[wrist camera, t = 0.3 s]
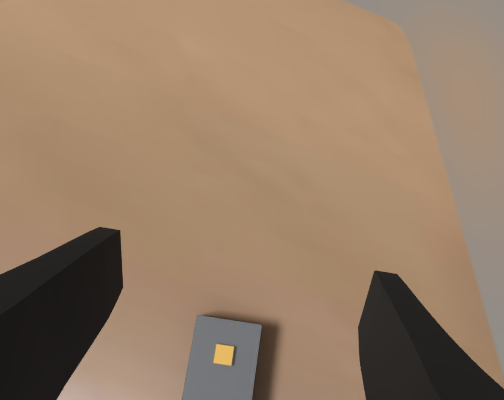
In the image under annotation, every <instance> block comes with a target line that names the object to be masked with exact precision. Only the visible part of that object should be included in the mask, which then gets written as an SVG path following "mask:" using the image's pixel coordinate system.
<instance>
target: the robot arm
mask: <svg viewBox="0 0 504 400" xmlns="http://www.w3.org/2000/svg"><path fill="white" fill-rule="evenodd" d="M122 289H123V276H122V257H121V237H120V230H115V229H109V228H103V227H99V228H96V229H94V230H92V231H89V232H87V233H85V234H83V235H81V236H79V237H77V238H75V239H73V240H71V241H69V242H67V243H66V244H64V245H62V246H60V247H58V248H56V249H54V250H52V251H50V252H48V253H46V254H44V255H42V256H40V257H38V258H36V259H33V260H31V261H29V262H27V263H25V264H23V265H20V266H18V267H16V268H14V269H12V270H9V271H7V272H5V273H3V274H1V275H0V400H57V398H58V396H59V395H60V393H61V391H62V390H63V388H64V386H65V384H66V383H67V381H68V380H69V378H70V377H71V375H72V374H73V372H74V371H75V369H76V368H77V366H78V365H79V363H80V361H81V360H82V358H83V357H84V355H85V354H86V352H87V351H88V349H89V348H90V346H91V345H92V343H93V342H94V340H95V339H96V337H97V335H98V334H99V332H100V331H101V329H102V328H103V326H104V324H105V323H106V321H107V320H108V318H109V316H110V314H111V312H112V310H113V308H114V306H115V304H116V302H117V300H118V297H119V295H120V293H121V291H122ZM358 333H359V357H360V366H361V372H362V378H363V384H364V390H365V396H366V400H504V389H503V388H502V387H501V386H500V385H499V384H498V383H496V382H495V381H494V380H493V379H492V378H491V377H490V376H489V375H488V374H487V373H485V372H484V371H483V370H482V369H481V368H480V367H479V366H478V365H477V364H476V363H475V362H474V361H473V360H472V359H471V358H470V357H469V356H468V355H467V354H466V353H465V352H464V351H463V350H462V349H461V348H460V347H459V346H458V345H457V344H456V343H455V341H454V340H453V339H452V338H451V337H450V336H449V335H448V334H447V333H446V332H445V331H444V329H443V328H442V327H441V326H440V325H439V324H438V323H437V321H436V320H435V319H434V318H433V317H432V316H431V314H430V313H429V312H428V311H427V310H426V308H425V307H424V306H423V305H422V304H421V302H420V301H419V300H418V299H417V298H416V296H415V295H414V294H413V293H412V291H411V290H410V289H409V288H408V286H407V285H406V284H405V283H404V281H403V280H402V279H401V278H400V277H399V276H398V274H393V273H387V272H381V271H374V274H373V278H372V281H371V284H370V288H369V291H368V295H367V298H366V302H365V305H364V309H363V312H362V316H361V319H360V323H359V326H358Z"/></svg>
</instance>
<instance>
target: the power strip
mask: <svg viewBox="0 0 504 400" xmlns="http://www.w3.org/2000/svg"><path fill="white" fill-rule="evenodd" d="M261 328H262V325H259V324H252V323H246V322H240V321H233V320H227V319H220V318H214V317H207V316H201V315H197V318H196V323H195V329H194V334H193V340H192V345H191V351H190V356H189V362H188V368H187V373H186V379H185V384H184V390H183V395H182V400H252V394H253V387H254V380H255V372H256V365H257V357H258V350H259V343H260V335H261Z"/></svg>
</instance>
